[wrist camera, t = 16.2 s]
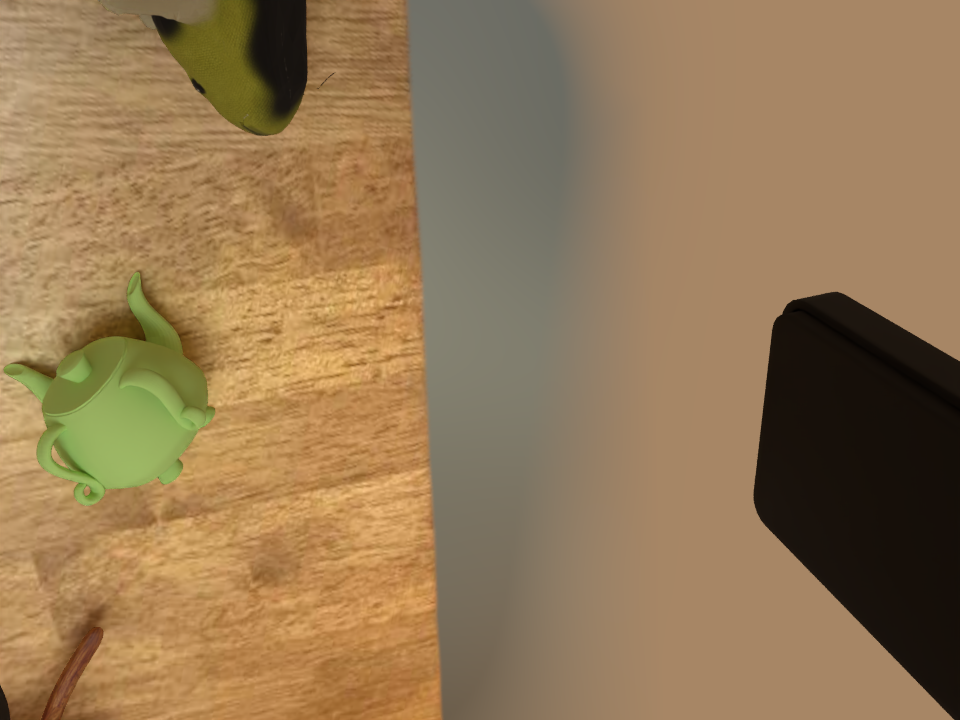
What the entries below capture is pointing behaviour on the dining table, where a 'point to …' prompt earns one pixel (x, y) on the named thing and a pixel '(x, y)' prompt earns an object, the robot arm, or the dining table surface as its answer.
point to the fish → (235, 53)
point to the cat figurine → (72, 674)
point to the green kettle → (120, 407)
